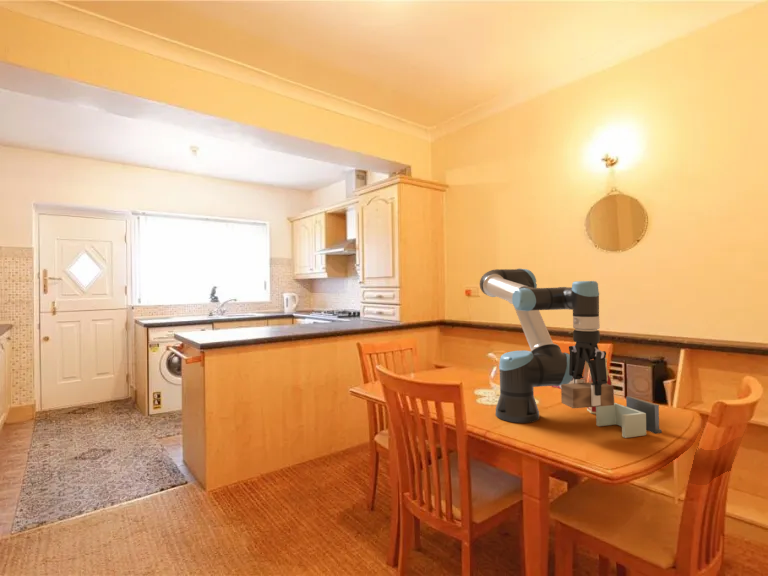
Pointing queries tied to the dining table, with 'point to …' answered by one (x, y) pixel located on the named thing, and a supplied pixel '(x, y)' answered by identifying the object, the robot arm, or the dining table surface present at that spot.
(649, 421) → the plate
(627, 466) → the dining table surface
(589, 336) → the robot arm
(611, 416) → the socket block
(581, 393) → the walnut bar
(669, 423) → the dining table surface
